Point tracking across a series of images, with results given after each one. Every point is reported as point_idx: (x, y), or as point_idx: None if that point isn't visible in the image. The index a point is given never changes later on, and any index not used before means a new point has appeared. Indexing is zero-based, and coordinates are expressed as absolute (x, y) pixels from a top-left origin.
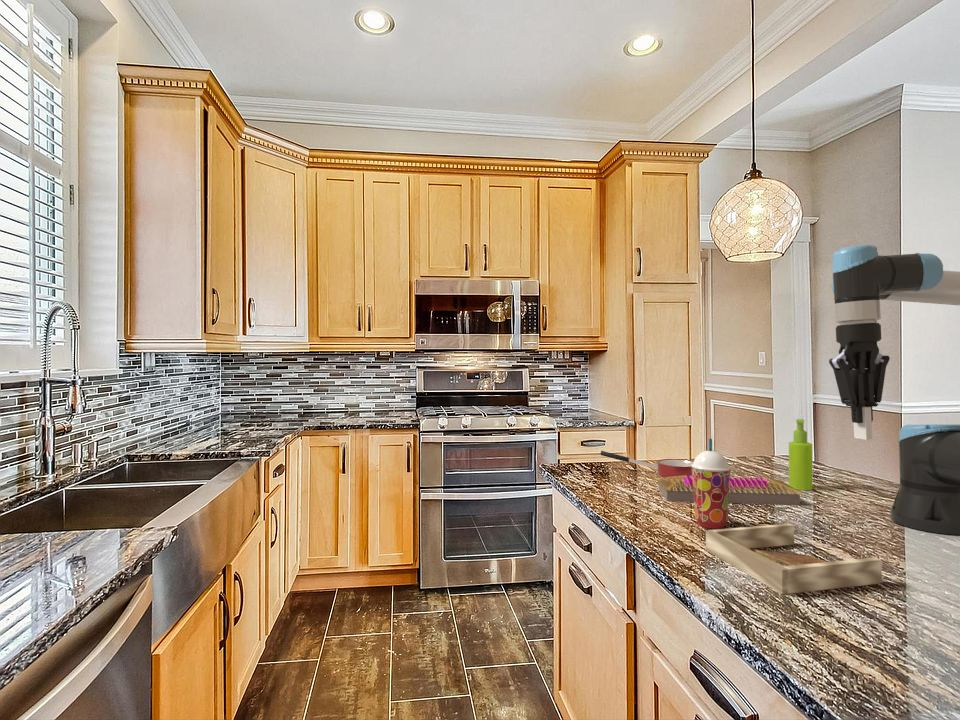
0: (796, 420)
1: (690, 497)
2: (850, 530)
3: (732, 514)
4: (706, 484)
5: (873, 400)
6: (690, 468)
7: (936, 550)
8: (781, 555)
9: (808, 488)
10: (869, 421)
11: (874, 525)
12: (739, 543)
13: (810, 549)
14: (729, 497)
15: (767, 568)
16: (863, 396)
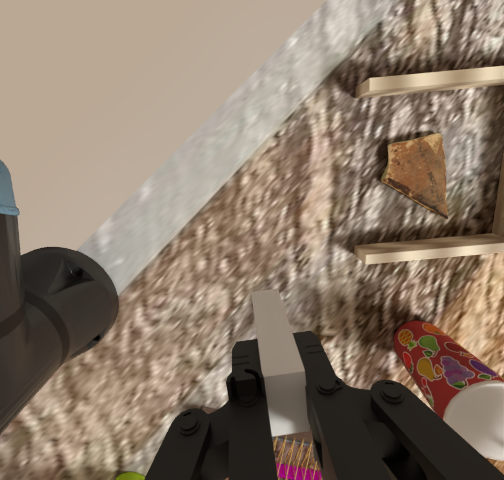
0: None
1: None
2: (218, 290)
3: (343, 377)
4: (490, 368)
5: (236, 416)
6: None
7: (158, 194)
8: (432, 186)
9: (127, 475)
10: (268, 327)
11: (160, 306)
12: (456, 239)
13: (346, 224)
14: (308, 435)
15: None
16: (326, 433)
